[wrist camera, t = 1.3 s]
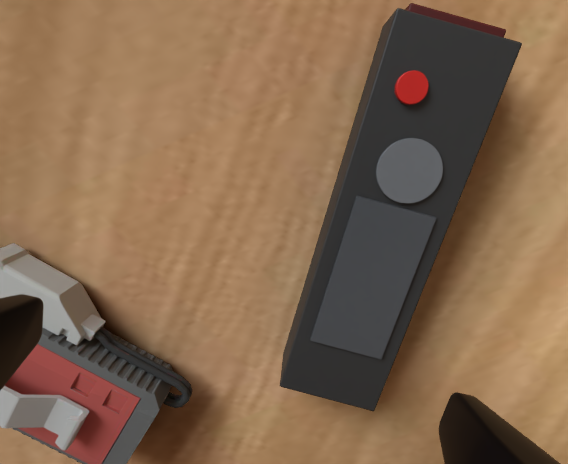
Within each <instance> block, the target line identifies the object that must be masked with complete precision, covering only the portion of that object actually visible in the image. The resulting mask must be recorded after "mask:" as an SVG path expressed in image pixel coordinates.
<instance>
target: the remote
mask: <svg viewBox="0 0 568 464" xmlns="http://www.w3.org/2000/svg"><path fill="white" fill-rule="evenodd" d="M505 33H506V30H505V29H502V28H498V27H495V26H491V25H488V24H484V23H481V22H477V21H474V20H470V19H466V18H463V17H459V16H456V15H452V14H449V13H445V12H442V11H438V10H434V9H431V8H427V7H424V6H420V5H417V4H413V3H411V4H410V5H409V6H408V7H407V8H406V9H405V10H403V9H400V8H398V9H397V10H396V11H395V12H394V13H393V15H392V16H391V17H390V18H389V20H388V21H387V22H386V23H385V25H384V26H383V28H382V31H381V35H380V38H379V41H378V45H377V48H376V51H375V54H374V58H373V61H372V64H371V67H370V71H369V74H368V77H367V81H366V84H365V87H364V90H363V94H362V97H361V100H360V104H359V107H358V110H357V113H356V117H355V120H354V123H353V127H352V130H351V133H350V136H349V140H348V143H347V146H346V150H345V153H344V156H343V159H342V163H341V166H340V169H339V173H338V176H337V179H336V182H335V186H334V189H333V192H332V196H331V199H330V202H329V205H328V209H327V212H326V215H325V219H324V222H323V225H322V228H321V232H320V235H319V238H318V242H317V245H316V248H315V251H314V255H313V258H312V261H311V265H310V268H309V271H308V274H307V278H306V281H305V284H304V287H303V291H302V294H301V297H300V301H299V304H298V307H297V310H296V314H295V317H294V320H293V324H292V327H291V330H290V333H289V337H288V340H287V343H286V347H285V350H284V353H283V362H282V371H281V380H280V386H281V387H284V388H288V389H292V390H296V391H299V392H303V393H307V394H311V395H314V396H318V397H322V398H326V399H329V400H333V401H337V402H341V403H344V404H348V405H352V406H356V407H360V408H363V409H367V410H371V411H374V410H375V407H376V405H377V402H378V400H379V397H380V395H381V392H382V390H383V388H384V385H385V383H386V380H387V378H388V375H389V373H390V370H391V368H392V365H393V363H394V360H395V358H396V355H397V353H398V350H399V348H400V345H401V343H402V340H403V338H404V335H405V333H406V330H407V328H408V326H409V323H410V321H411V318H412V316H413V313H414V311H415V308H416V306H417V303H418V301H419V298H420V296H421V293H422V291H423V288H424V286H425V283H426V281H427V278H428V276H429V273H430V271H431V268H432V266H433V264H434V261H435V259H436V256H437V254H438V251H439V249H440V246H441V244H442V241H443V239H444V236H445V234H446V231H447V229H448V226H449V224H450V221H451V219H452V216H453V214H454V211H455V209H456V206H457V204H458V201H459V199H460V197H461V194H462V192H463V189H464V187H465V184H466V182H467V179H468V177H469V174H470V172H471V169H472V167H473V164H474V162H475V159H476V157H477V154H478V152H479V149H480V147H481V144H482V142H483V139H484V137H485V135H486V132H487V130H488V127H489V125H490V122H491V120H492V117H493V115H494V112H495V110H496V107H497V105H498V102H499V100H500V97H501V95H502V92H503V90H504V87H505V85H506V82H507V80H508V77H509V75H510V73H511V70H512V68H513V65H514V63H515V60H516V58H517V55H518V53H519V50H520V48H521V45H522V43H520V42H517V41H514V40H510V39H506V38H504V35H505Z"/></svg>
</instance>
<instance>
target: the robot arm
mask: <svg viewBox="0 0 568 464" xmlns="http://www.w3.org/2000/svg"><path fill="white" fill-rule="evenodd" d="M43 308H44V305H43V301H42V300H41V299H40V298H38V297H34V296H29V295H25V294H19V295H14V296H9V297H4V298H0V391H1V389H2V388H3V387H4V386H5V384H6V383H7V382H8V381H9V379H10V378H11V377H12V375H13V374H14V373H15V372H16V370H17V369H18V368H19V367H20V365H21V364H22V363H23V362H24V360H25V359H26V358H27V357H28V355H29V354H30V353H31V351H32V350H33V349H34V348H35V346H36V345H37V344H38V342H39V340H40V338H41V336H42V331H43ZM439 436H440V442H441V447H442V452H443V457H444V462H445V464H560V463H559V462H558V461H556V460H555V459H554V458H552V457H551V456H550V455H549V454H547V453H546V452H545V451H543V450H542V449H541V448H540V447H538V446H537V445H536V444H534V443H533V442H532V441H531V440H529V439H528V438H527V437H526V436H524V435H523V434H522V433H520V432H519V431H518V430H517V429H515V428H514V427H513V426H511V425H510V424H509V423H508V422H506V421H505V420H504V419H502V418H501V417H500V416H499V415H497V414H496V413H495V412H493V411H492V410H491V409H490V408H488V407H487V406H486V405H485V404H483V403H482V402H481V401H479V400H478V399H477V398H475V397H474V396H471V395H466V394H462V393H454V394H452V395H451V397H450V399H449V401H448V404H447V406H446V409H445V411H444V414H443V416H442V418H441V421H440V425H439Z"/></svg>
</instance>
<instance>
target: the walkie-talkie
mask: <svg viewBox="0 0 568 464" xmlns="http://www.w3.org/2000/svg"><path fill="white" fill-rule="evenodd" d="M19 294H25V295H29V296H34V297H38V298H40V299H41V300H42V301H43V305H44V308H43V331H42V336H41V338H40V340H39V342H38V344H37V345H36V346H35V348H34V349H33V350H32V351H31V353H30V354H29V355H28V357H27V358H26V359H25V360H24V362H23V363H22V364H21V365H20V367H19V368H18V369H17V370H16V372H15V373H14V374H13V375H12V377H11V378H10V379H9V381H8V382H7V383H6V384H5V386H4V387H3V388H2V389H1V391H0V427H2V428H13V429H14V430H17V431H19V432H21V433H22V434H24V435H27V436H29V437H31V438H32V439H34V440H37V441H39V442H40V443H42V444H45V445H47V446H49V447H50V448H52V449H55V450H57V451H58V452H60V453H63V454H65V455H67V456H68V457H69V458H73V459H75V460H76V461H77V462H80V463H82V464H127V462H128V460H129V459H130V457H131V455H132V454H133V452H134V451H135V449H136V447H137V446H138V444H139V443H140V441H141V439H142V438H143V436H144V435H145V433H146V431H147V430H148V428H149V427H150V425H151V423H152V422H153V420H154V418H155V417H156V415H157V413H158V412H159V410H160V408H161V406H162V404H163V403H164V404H166V405H168V406H170V407H174V408H178V407H182V406H183V405H185V404H186V403H187V402H188V401H189V399H190V396H191V394H192V388H191V384H190V383H189V382H188V381H187V380H185V379H184V378H183V377H182V376H180V375H178V374H177V373H175V372H173V370H172V368H171V365H170V364H167V363H165V362H164V361H163V360H160V359H158V358H156V357H155V356H153V355H151V354H149V353H147V352H146V351H144V350H141V349H140V348H138V347H137V346H134V345H132V344H130V343H129V342H128V341H125V340H123V339H121V338H120V337H118V336H116V335H114V334H112V333H111V332H109V331H108V330H106V329H105V328H103V326H104V324H105V322H106V321H105V320H103V319H101V317H100V315H99V313H98V312H97V310H96V308H95V306H94V305H93V303H92V301H91V299H90V298H89V296H88V294H87V292H86V291H85V289H84V287H83V285H82V284H81V283H80V282H78V281H76V280H75V279H73V278H71V277H69V276H67V275H66V274H64V273H62V272H60V271H58V270H57V269H55V268H53V267H51V266H49V265H48V264H46V263H44V262H42V261H40V260H39V259H37V258H35V257H33V256H31V255H30V254H29V253H28V252H27V250H26V249H24V248H22V247H20V246H18V245H17V244H15V243H12V244H10V245H7V246H5V247H3V248H0V298H4V297H9V296H14V295H19ZM171 386H174V387H176V388H177V389H178V390H179V391H180V392H181V393H182V394H183V395H175V394H173V393H171V392H169V391H170V388H171Z"/></svg>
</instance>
